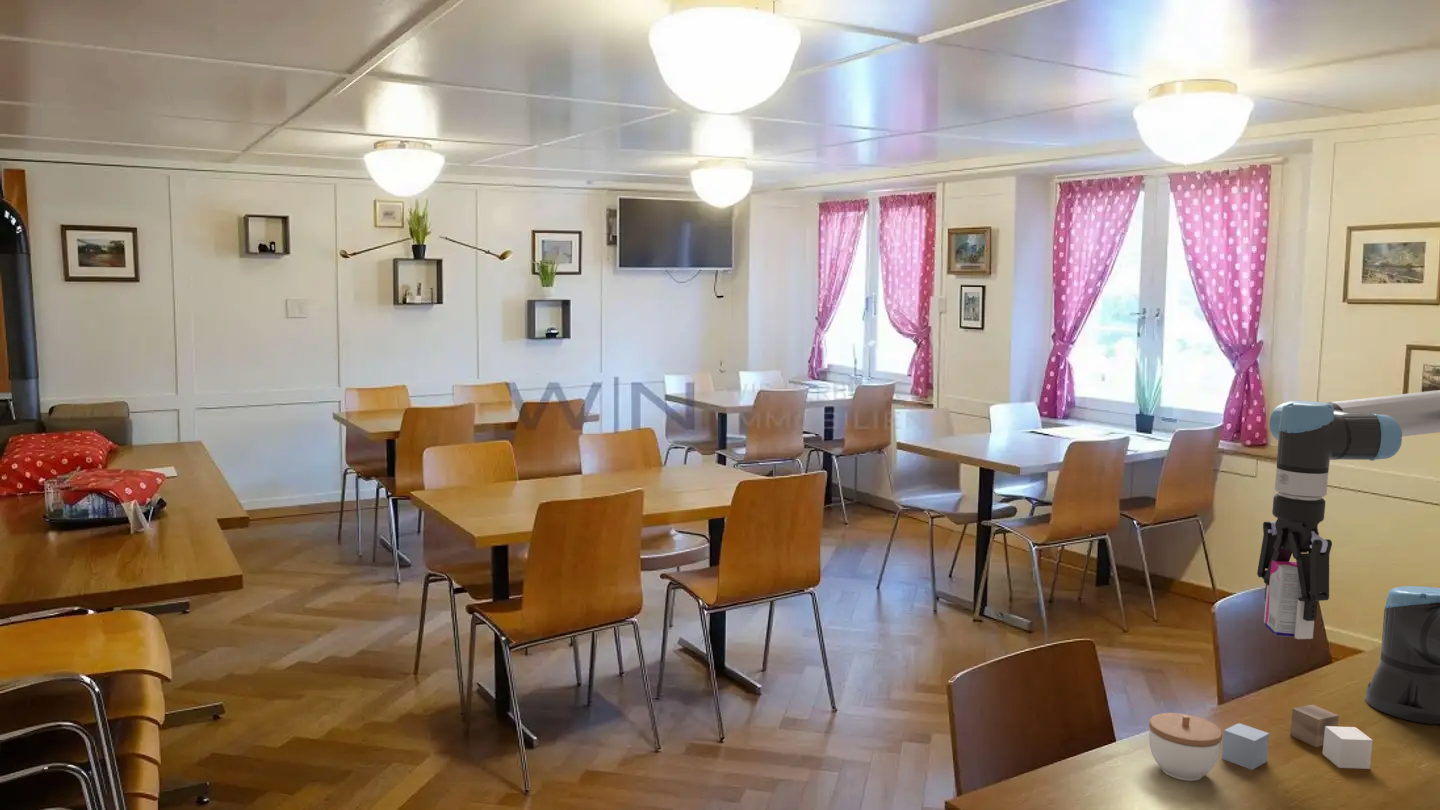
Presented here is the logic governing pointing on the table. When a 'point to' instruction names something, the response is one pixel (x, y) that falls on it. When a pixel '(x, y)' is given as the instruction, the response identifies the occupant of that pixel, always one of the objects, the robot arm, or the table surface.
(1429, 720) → the robot arm
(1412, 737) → the table surface
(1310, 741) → the walnut cube
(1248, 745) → the slate-blue cube
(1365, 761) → the off-white cube
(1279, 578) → the supplement box
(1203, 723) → the lidded jar
